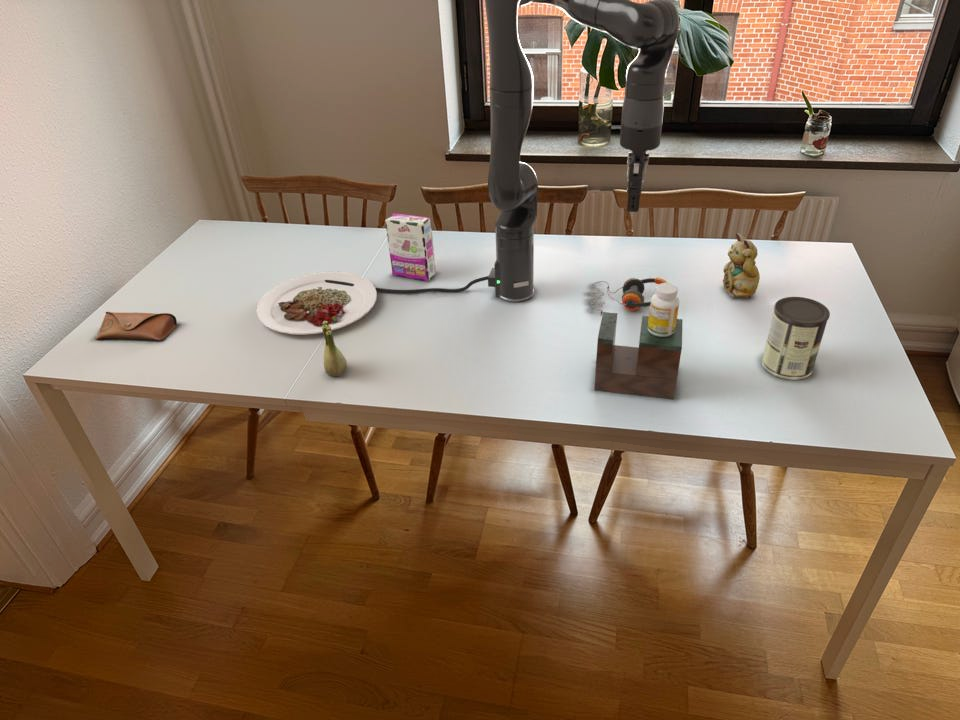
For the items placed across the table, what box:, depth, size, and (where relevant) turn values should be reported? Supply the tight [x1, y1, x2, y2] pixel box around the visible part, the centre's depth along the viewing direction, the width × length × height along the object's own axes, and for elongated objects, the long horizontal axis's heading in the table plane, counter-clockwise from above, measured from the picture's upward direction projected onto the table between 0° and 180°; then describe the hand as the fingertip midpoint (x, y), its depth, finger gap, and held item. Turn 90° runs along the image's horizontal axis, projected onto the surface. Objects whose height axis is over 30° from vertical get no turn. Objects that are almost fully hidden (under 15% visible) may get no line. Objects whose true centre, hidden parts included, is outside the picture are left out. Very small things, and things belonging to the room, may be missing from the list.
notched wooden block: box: [593, 311, 683, 400], centre depth 140 cm, size 16×10×13 cm, turn 76°
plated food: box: [256, 271, 378, 336], centre depth 173 cm, size 30×30×3 cm
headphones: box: [587, 277, 668, 317], centre depth 168 cm, size 17×5×20 cm
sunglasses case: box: [94, 311, 178, 341], centre depth 168 cm, size 18×7×7 cm
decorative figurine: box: [722, 232, 761, 299], centre depth 167 cm, size 10×8×15 cm
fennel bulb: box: [322, 321, 348, 377], centre depth 148 cm, size 6×5×12 cm
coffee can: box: [761, 296, 831, 381], centre depth 142 cm, size 10×10×14 cm
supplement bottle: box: [648, 282, 680, 337], centre depth 133 cm, size 5×5×10 cm
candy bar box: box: [384, 213, 437, 282], centre depth 181 cm, size 11×5×16 cm, turn 68°
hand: (634, 202), depth 137 cm, fingers open, 8 cm apart
